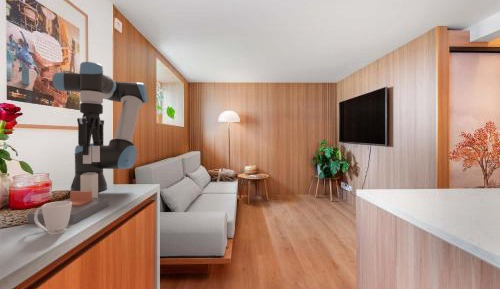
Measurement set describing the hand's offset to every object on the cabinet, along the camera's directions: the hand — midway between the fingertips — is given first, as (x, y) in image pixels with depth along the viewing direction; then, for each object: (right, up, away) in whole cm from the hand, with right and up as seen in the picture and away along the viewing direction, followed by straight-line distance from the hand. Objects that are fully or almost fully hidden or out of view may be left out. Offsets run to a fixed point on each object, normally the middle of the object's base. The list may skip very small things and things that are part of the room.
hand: (91, 162), depth 97 cm
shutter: (0, -14, -8) cm, 16 cm away
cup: (+6, -18, -26) cm, 32 cm away
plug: (-5, -16, +6) cm, 18 cm away
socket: (0, -17, -10) cm, 20 cm away
